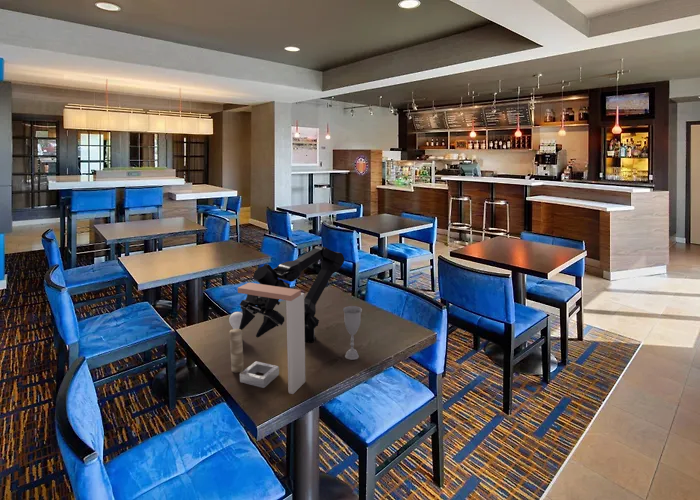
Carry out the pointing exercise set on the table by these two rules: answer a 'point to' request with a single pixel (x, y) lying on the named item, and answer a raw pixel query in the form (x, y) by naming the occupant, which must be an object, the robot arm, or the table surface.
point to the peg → (236, 350)
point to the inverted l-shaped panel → (288, 327)
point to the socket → (256, 380)
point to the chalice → (352, 327)
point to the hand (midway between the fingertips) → (248, 333)
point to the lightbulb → (235, 320)
